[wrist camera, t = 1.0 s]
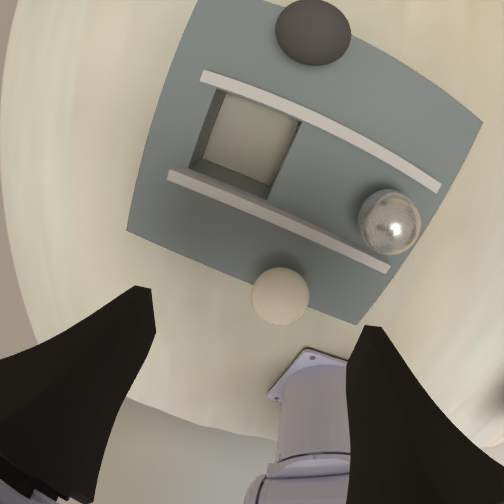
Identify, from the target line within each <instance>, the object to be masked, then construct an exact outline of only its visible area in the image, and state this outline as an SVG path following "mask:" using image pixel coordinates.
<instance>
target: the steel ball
mask: <svg viewBox="0 0 504 504" xmlns="http://www.w3.org/2000/svg"><path fill="white" fill-rule="evenodd" d="M358 227H359V232H360V235H361V237H362V239H363V240H364V242H365V243H366V244H367V245H368V246H369V247H370V248H371V249H372V250H374V251H376V252H378V253H380V254H384V255H396V254H400V253H402V252H404V251H406V250H407V249H409V248H410V247H411V246H412V245H413V244H414V243H415V241H416V240H417V238H418V235H419V232H420V228H421V218H420V213H419V210H418V208H417V206H416V204H415V203H414V202H413V200H412V199H411V198H410V197H409V196H407V195H406V194H405V193H403V192H400V191H398V190H393V189H384V190H380V191H377V192H375V193H373V194H372V195H370V196H369V197H368V198H367V199H366V200H365V201H364V203H363V204H362V206H361V209H360V211H359V215H358Z"/></svg>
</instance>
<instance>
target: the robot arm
mask: <svg viewBox="0 0 504 504" xmlns="http://www.w3.org/2000/svg"><path fill="white" fill-rule="evenodd" d="M155 334H156V327H155V319H154V311H153V302H152V293H151V289H149V288H145V287H140V286H136V285H135V286H134V287H132V288H130V289H129V290H127V291H126V292H124V293H123V294H121V295H120V296H118V297H117V298H115V299H114V300H112V301H111V302H109V303H108V304H106V305H105V306H103V307H102V308H100V309H99V310H97V311H96V312H95V313H93V314H92V315H90V316H88V317H87V318H85V319H84V320H82V321H80V322H79V323H77V324H75V325H74V326H72V327H71V328H69V329H67V330H66V331H64V332H62V333H60V334H59V335H57V336H55V337H53V338H51V339H49V340H47V341H45V342H43V343H41V344H39V345H37V346H35V347H32V348H30V349H27V350H25V351H22V352H20V353H17V354H15V355H13V356H10V357H6V358H3V359H1V360H0V504H59V503H57V502H56V501H57V498H58V497H60V498H62V499H64V500H66V501H68V500H69V497H71V498H73V499H75V500H77V501H78V502H80V503H82V504H89V503H92V502H93V500H94V495H95V489H96V484H97V479H98V474H99V470H100V467H101V463H102V459H103V455H104V452H105V448H106V445H107V442H108V438H109V436H110V433H111V430H112V427H113V424H114V422H115V419H116V416H117V413H118V411H119V409H120V407H121V405H122V403H123V401H124V399H125V397H126V395H127V393H128V391H129V389H130V387H131V385H132V384H133V382H134V380H135V378H136V376H137V374H138V372H139V370H140V369H141V367H142V365H143V363H144V361H145V359H146V357H147V355H148V352H149V350H150V347H151V345H152V342H153V339H154V337H155ZM312 356H313V357H312ZM267 398H269V399H271V400H274V401H278V402H281V403H282V407H281V416H280V426H279V435H278V443H277V452H276V460H275V463H269V464H268V468H267V474H261V475H259V476H258V477H257V478H256V479H255V480H254V481H253V482H252V483H251V485H250V486H249V488H248V490H247V492H246V496H245V499H244V504H504V466H502V465H501V464H499V463H498V462H496V461H495V460H493V459H492V458H490V457H489V456H488V455H487V454H486V453H484V452H483V451H482V450H480V449H479V448H478V447H477V446H476V445H475V444H474V443H472V442H471V441H470V440H469V439H468V438H467V437H466V436H465V435H464V434H463V433H462V432H461V431H460V430H459V429H458V428H457V427H456V426H455V425H454V424H453V423H452V422H451V421H450V420H449V419H448V418H447V417H446V415H445V414H444V413H443V412H442V411H441V410H440V409H439V407H438V406H437V405H436V404H435V403H434V401H433V400H432V399H431V398H430V396H429V395H428V394H427V392H426V391H425V390H424V388H423V387H422V386H421V384H420V383H419V382H418V380H417V379H416V377H415V376H414V374H413V373H412V372H411V370H410V369H409V367H408V366H407V364H406V363H405V361H404V360H403V358H402V357H401V355H400V354H399V352H398V351H397V349H396V348H395V346H394V345H393V343H392V342H391V340H390V339H389V337H388V336H387V334H386V333H385V332H384V330H383V329H382V327H377V326H368V325H365V326H364V328H363V330H362V332H361V335H360V337H359V339H358V341H357V343H356V346H355V348H354V350H353V352H352V354H351V356H350V358H349V360H348V362H347V361H344V360H341V359H338V358H334V357H331V356H328V355H325V354H322V353H319V352H316V351H314V350H311V349H305V350H303V351H302V352H301V353H300V355H299V356H298V357H297V358H296V360H295V361H294V362H293V363H292V365H291V366H290V367H289V368H288V370H287V371H286V372H285V373H284V374H283V376H282V377H281V378H280V379H279V380H278V382H277V383H276V384H275V385H274V386H273V387H272V389H271V390H270V391H269V392H268V394H267Z"/></svg>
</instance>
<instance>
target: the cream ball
mask: <svg viewBox="0 0 504 504" xmlns="http://www.w3.org/2000/svg"><path fill="white" fill-rule="evenodd" d="M251 301H252V305H253V308H254V310H255V312H256V313H257V315H258V316H259V317H260V318H261V319H263V320H264V321H266V322H268V323H270V324H273V325H287V324H290V323H293V322H295V321H296V320H298V319H299V318H300V317H301V316H302V315H303V314H304V312H305V311H306V309H307V306H308V303H309V289H308V286H307V283H306V282H305V280H304V279H303V277H302V276H301V275H300V274H298V273H297V272H296V271H294V270H292V269H289V268H284V267H276V268H272V269H269V270H267V271H265V272H264V273H262V274H261V275H260V276H259V277H258V278H257V280H256V281H255V283H254V285H253V288H252V292H251Z"/></svg>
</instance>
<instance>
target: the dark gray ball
mask: <svg viewBox="0 0 504 504" xmlns="http://www.w3.org/2000/svg"><path fill="white" fill-rule="evenodd" d="M275 35H276V39H277V42H278V44H279V46H280V48H281V49H282V50H283V51H284V53H285V54H286V55H288V56H289V57H290V58H291V59H293V60H295V61H297V62H299V63H301V64H304V65H309V66H323V65H327V64H330V63H333V62H335V61H336V60H338V59H339V58H341V57H342V56H343V55H344V53H345V52H346V51H347V49H348V47H349V44H350V41H351V29H350V25H349V23H348V21H347V19H346V17H345V16H344V15H343V13H342V12H341V11H340V10H339V9H337V8H336V7H335V6H333V5H331V4H329V3H327V2H325V1H322V0H299V1H296V2H294V3H292V4H290V5H288V6H287V7H286V8H285V9H284V10H283V11H282V12H281V13H280V15H279V17H278V19H277V21H276V25H275Z"/></svg>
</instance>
